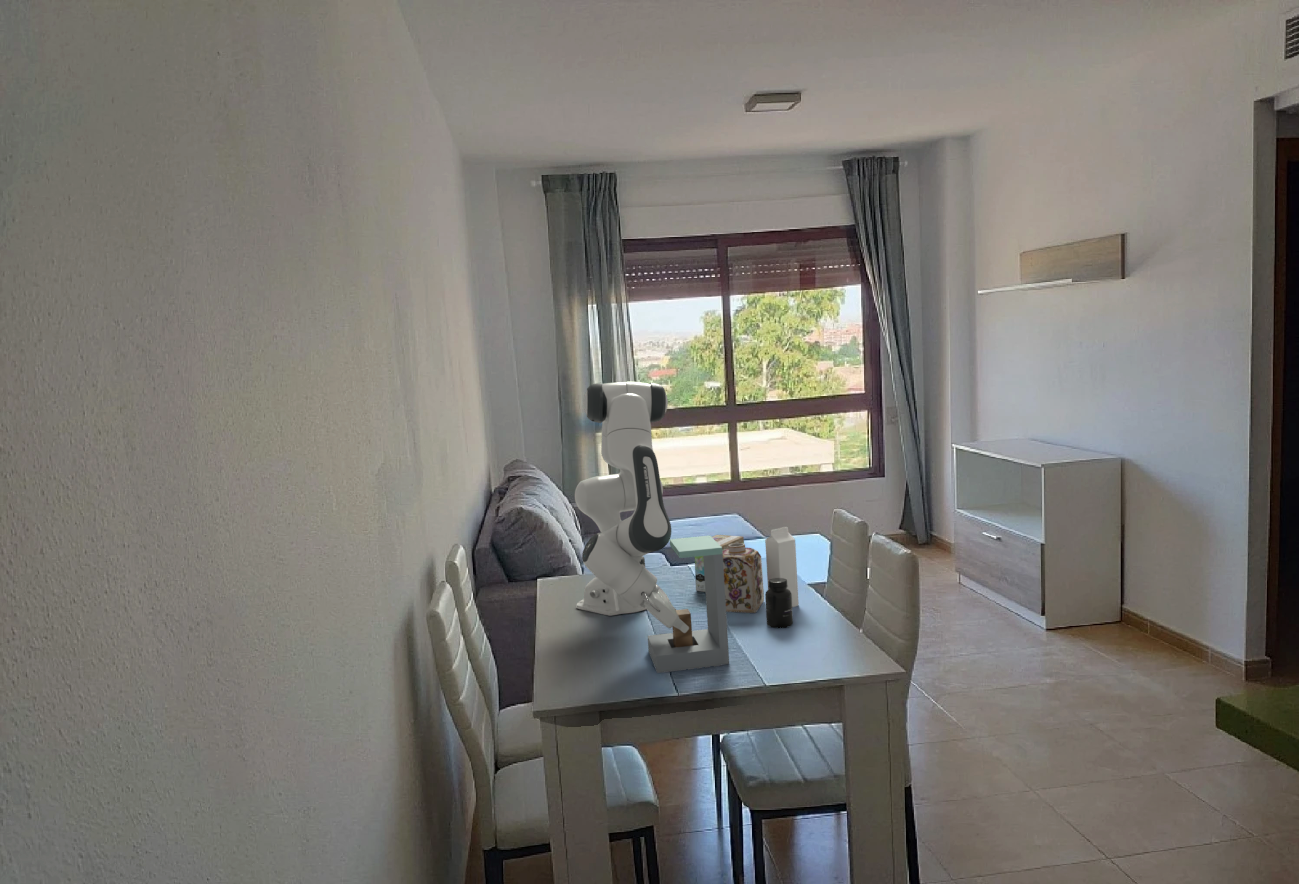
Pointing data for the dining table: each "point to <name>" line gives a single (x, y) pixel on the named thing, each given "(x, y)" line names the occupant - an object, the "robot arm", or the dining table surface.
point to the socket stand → (714, 640)
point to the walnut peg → (678, 636)
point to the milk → (782, 560)
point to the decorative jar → (742, 579)
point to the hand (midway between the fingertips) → (683, 623)
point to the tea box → (699, 562)
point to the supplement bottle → (778, 604)
